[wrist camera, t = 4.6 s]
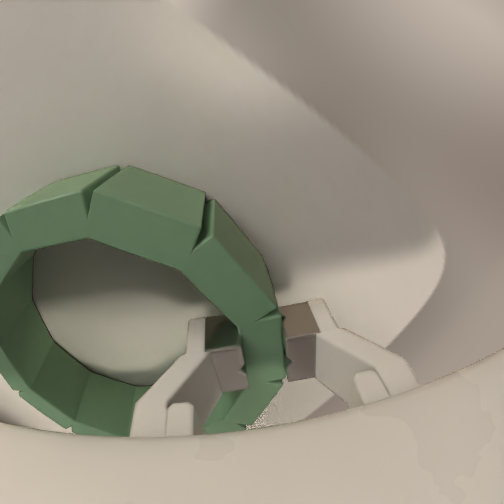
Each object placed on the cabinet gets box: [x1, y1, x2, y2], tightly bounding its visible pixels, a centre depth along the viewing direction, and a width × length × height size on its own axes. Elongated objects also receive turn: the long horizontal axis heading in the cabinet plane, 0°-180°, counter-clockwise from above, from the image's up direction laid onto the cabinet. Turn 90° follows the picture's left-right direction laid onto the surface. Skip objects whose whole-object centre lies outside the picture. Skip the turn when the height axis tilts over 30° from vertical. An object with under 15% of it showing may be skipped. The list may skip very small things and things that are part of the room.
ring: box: [0, 166, 286, 437], centre depth 10 cm, size 11×11×3 cm
